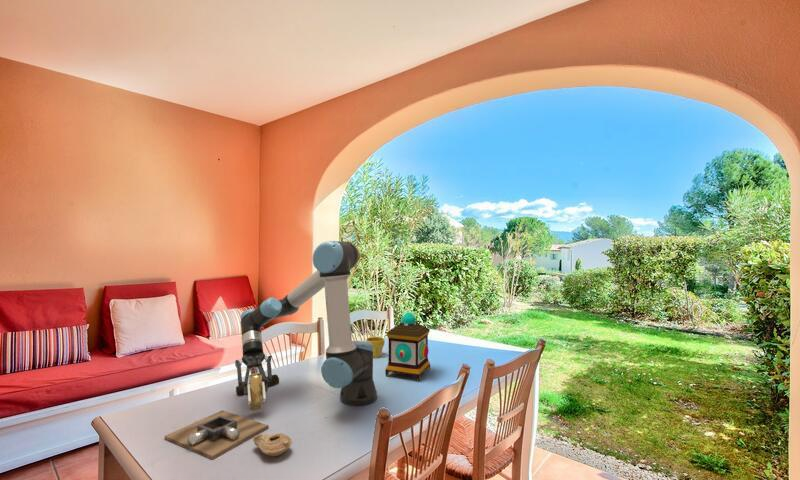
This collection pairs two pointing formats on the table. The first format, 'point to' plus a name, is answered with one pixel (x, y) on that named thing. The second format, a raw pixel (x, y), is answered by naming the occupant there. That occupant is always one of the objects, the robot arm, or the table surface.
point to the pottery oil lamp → (272, 443)
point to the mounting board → (221, 445)
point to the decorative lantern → (408, 347)
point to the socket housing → (209, 433)
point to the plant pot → (376, 345)
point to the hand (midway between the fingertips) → (257, 401)
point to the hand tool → (273, 382)
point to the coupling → (255, 391)
